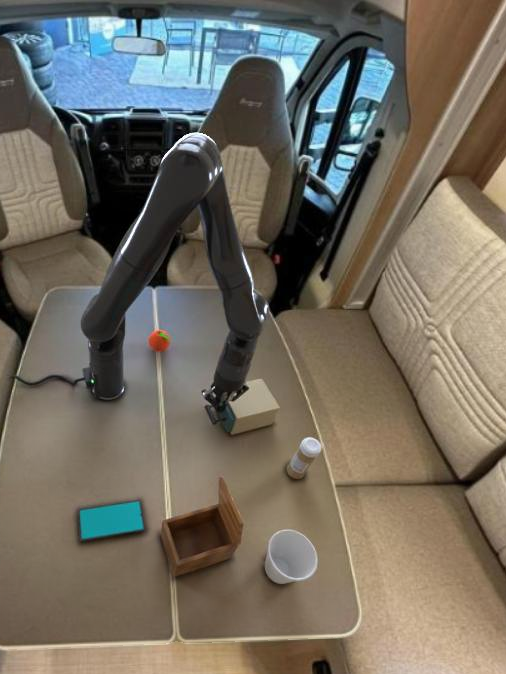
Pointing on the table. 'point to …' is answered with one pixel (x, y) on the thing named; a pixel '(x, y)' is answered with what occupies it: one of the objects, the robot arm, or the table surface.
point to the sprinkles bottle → (304, 457)
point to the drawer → (222, 417)
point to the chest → (197, 539)
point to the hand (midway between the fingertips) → (218, 409)
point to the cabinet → (253, 408)
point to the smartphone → (110, 520)
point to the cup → (290, 557)
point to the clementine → (159, 340)
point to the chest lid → (230, 511)
